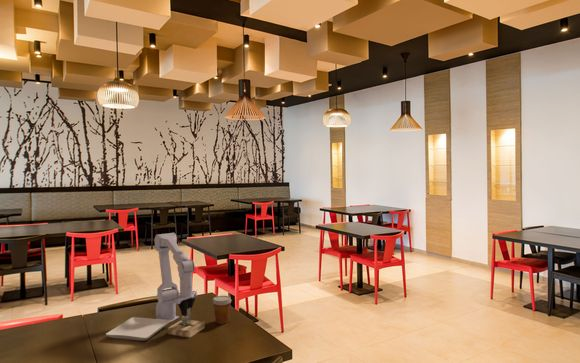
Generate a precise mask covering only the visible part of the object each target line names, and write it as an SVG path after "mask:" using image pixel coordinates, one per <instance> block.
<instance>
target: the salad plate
mask: <svg viewBox="0 0 580 363" xmlns="http://www.w3.org/2000/svg"><path fill="white" fill-rule="evenodd" d="M170 323H171V322H170V321H169V320H161V319H156V318H150V317H149V318H148V317H138V316H137V317H134V316H133V317H131V318H129V319H127V320H126V321H124V322H123V323H121V324H119V325H118V326H116V327H115V328H113V329H111V330H110V331H108V332H106V333H105V336H107V337H109V338H111V339H119V340H129V341H130V340H131V341H140V342H141V341H147V340H149V339H151V338H152V337H153V336H154V335H155V334H157V333H158V332H159V331H161V330H162V329H164V328H165V327H166V326H167V325H169V324H170Z"/></svg>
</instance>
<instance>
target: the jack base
mask: <svg viewBox="0 0 580 363" xmlns="http://www.w3.org/2000/svg"><path fill="white" fill-rule="evenodd" d="M204 329H205V321H200V320H195V319H194V320H193V319H191V322H190V323H189V324H182V319H181V320H179V321H177V322H176V323H174V324H172V325H170V326H169V327H167V334H168V335H172V336H177V337H183V338H188V339H189V338H192V337H194V336H195V335H196V334H198V333H200V332H201V331H202V330H204Z"/></svg>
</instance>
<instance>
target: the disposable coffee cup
mask: <svg viewBox="0 0 580 363" xmlns="http://www.w3.org/2000/svg"><path fill="white" fill-rule="evenodd" d="M231 303H232V299H231V296H229V295H217V296H215V297H213V298H212V304H213V310H214V311H213V312H214V317H215V318H214V319H215V323H216V324H217V323H218V324H219V325H225V324H228V323H229V321H230V320H229V319H230V312H231V311H230V310H231ZM227 322H228V323H227ZM224 323H225V324H224Z"/></svg>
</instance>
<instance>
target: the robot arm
mask: <svg viewBox="0 0 580 363" xmlns="http://www.w3.org/2000/svg"><path fill="white" fill-rule="evenodd" d="M153 240H154V248H155V251H156V252H158V259H159V267H160V276H161V284H160V285H159V286H158V287H157V292H156V293H157V294H156V299H157V301H158V302H157V303H156V306H155V319H161V320H169V321H170V322H169V323H172V322H174V321H175V320H177V319H180V316H179V315H176V314H177V311H176V309H177V308H176V306H178V308H179V311H180V313H181V317H182V316H186V315H187V308H188V307H191V311H192V310H193V306H194V303H195V302H196V296H197V295H198V294H197V293H198V292H197V290H193V272H194V271H195V262H194V260H193V259H191V258H189V257H188V256H187V255H186V253H185V252H184V251H183V250H181V249H180V246H179V245H178V243H177V240H178V237H177V235H176V233H175V232H170V233H161V234H160V233H159V234H158V233H157V234H156V235H155V237H154V239H153ZM170 252H171V253H172V259H173V260H174V261H175V264H176V265H177V267H176V268H177V272H178V277H179V287H178V284H177V283H175V282H173V279H172V278H173V277H172V271H171V270H172V269H171V263H170V262H171V261H170Z"/></svg>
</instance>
